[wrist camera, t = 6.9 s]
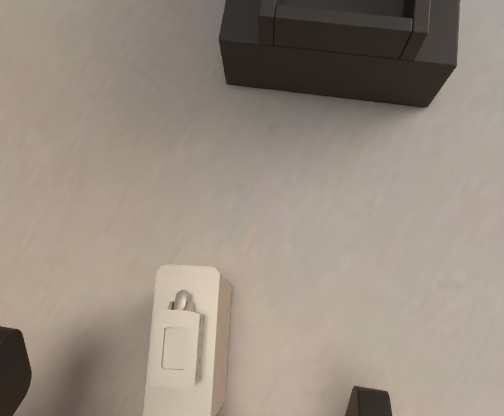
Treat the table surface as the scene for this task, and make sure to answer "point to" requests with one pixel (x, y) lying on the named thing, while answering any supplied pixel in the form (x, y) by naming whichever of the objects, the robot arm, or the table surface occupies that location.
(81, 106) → the table surface
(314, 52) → the dark grey holder tray
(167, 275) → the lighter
